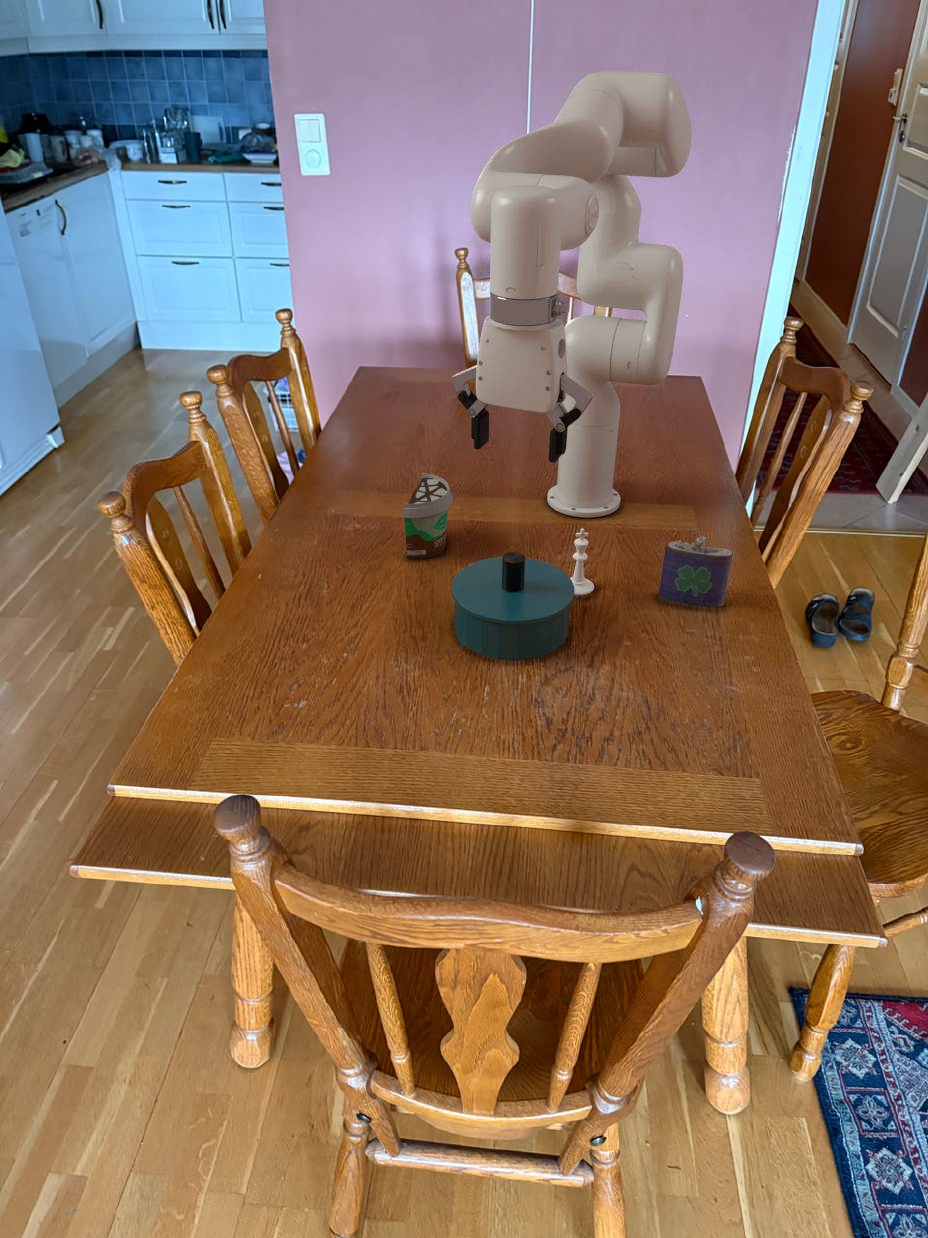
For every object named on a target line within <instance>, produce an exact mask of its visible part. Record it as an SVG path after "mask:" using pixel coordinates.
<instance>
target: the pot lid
mask: <svg viewBox="0 0 928 1238" xmlns="http://www.w3.org/2000/svg"><path fill="white" fill-rule="evenodd" d="M570 578H571V577H570V576H569V575H568V574H567V573H566V572H565V571H563V570H562V569H561V568H559V567H557V566H555V565H553V564H552V563H549V562H546V561H543V560H541V559H537V558H532V557H526V556H525V555H524V554H523V553H521V552H519V551H508V552H505V553H504V554H503V555H502V556H496V557H489V558H485V559H481V560H478V561H474V562H473V563H470V564H468V565H466V566H465V567H464V568H462V569H460V570H459V571H458V572H457V573H456V574H455V576H454V577H453V579H452V581H451V585H450V586H451V596H452V598H453V600H454V603H455V602H456V603H457V604H458V606H459V607H461V608H462V609H463V610H464V611H466V612H467V613H469V614H471V615H473V616H475V617H477V618H480V619H483V620H486V621H490V622H495V623H502V624H530V623H536V622H541V621H544V620H548V619H550V618H553V617H555V616H557V615H559V614H561V613H562V612H564V611H565V610H566V609H567V608H568V607H569V606H570V607H571V605H572V603H573V601H574V598H575V595H574V593H575V591H574V584H573V582H572V580H571V579H570Z"/></svg>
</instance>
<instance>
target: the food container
mask: <svg viewBox="0 0 928 1238" xmlns="http://www.w3.org/2000/svg"><path fill="white" fill-rule="evenodd" d="M420 475H421V476H420V478H421V479H420V481H419V483H418V485H417V486H416V488H414V490H413V491H412V494H411V496H410V498H409V501H408V502H407V503H403V508H402V518H403V519H404V533H405V546H406V547H405V548H406V560H414V561H415V560H424V559H429V558H433V557H436V556H437V555H439V554H441V553H442V552H443V551H444V550H445V549H446V546H447V545H446V543H447V529H448V516H449V508H450V507H451V506H452V504H453V500H454V499H453V498H454V497H453V494H452V489H451V488H450V485H449V483H448V482H447V481H446V480H445V479H444V478H442V477H440V476H438V475H435V474H433V473H426V472H421V474H420Z"/></svg>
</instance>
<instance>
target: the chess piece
mask: <svg viewBox="0 0 928 1238" xmlns="http://www.w3.org/2000/svg"><path fill="white" fill-rule="evenodd" d="M575 537H576V539H575V540H574V542H573V544H574V546H575V551H576V552H574V553H573V555H572V559H574V560H576V561H575V567H574V571H573V575H572V576H571V577H570V579H571V580H572V582H573V584H574V591H575V593H574V596H584V595H589V594H591V593H592V592H593V591H594V589H595V584H594V583H593V582H592V581H591V580H590V579H588V578H586V577H585V569H584V567H585V566H584V561H586V560H588V558H589V557H588V554H587V553H586V550H587V548H588V546H589V540H588V539H586V538H587V537H589V532H588V531H587V532H585V529H584V528H580V531H579V532H575ZM585 537H586V538H585Z"/></svg>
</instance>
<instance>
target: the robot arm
mask: <svg viewBox="0 0 928 1238" xmlns="http://www.w3.org/2000/svg"><path fill="white" fill-rule="evenodd" d="M691 122H692V121H691V118H690V115H689V110H688V106H687V102H686V98H685V94H684V92H683V90H682V87H681V86H680V84H679V83H678V81H677V80H676V79H675V78H674V77H673V76H672V75H670V74H668V73H666V72H659V71H628V70H627V71H623V70H604V71H596V72H592V73H589V74H588V75H585V76H584V77H582V78H581V79H580V80H579V81H578V82H577V83H576V84H575V85H574V87H573V89H572V90H571V92H570V94H569V96H568V97H567V98H566V101H565V102H564V103H563V106H562V107H561V109H560V111H559V113H558V115H557V116H556V118H555V119H554V121H553V122H551V123H548V124H546V125H544V126H541V127H539V128H536V129H534V130H532V131H530V132H528V133H525V134H524V135H521V136H519V137H516V138H515V139H512V140H510V141H508V142H507V143H505V144H504V145H502V146H501V147H500V148H498V149H497V150H496V151H495V152H494V153H493V154H492V155H491V156H490V158H489V160H488V162H487V163H486V165H485V166H484V168H483V169H482V171H481V172H480V175H479V176H478V179H477V181H476V183H475V185H474V188H473V190H472V195H471V200H470V205H469V206H470V208H469V212H470V213H469V216H470V222H471V225H472V228H473V231H474V232H475V234H476V235H477V237H479V238H480V239H481V240H483V241H485V242H486V243H489V244H490V250H489V251H490V253H489V257H490V258H489V260H490V262H489V263H490V264H489V267H490V268H489V311H488V312H489V313H488V315H487V316H486V317H485V318H484V320H483V324H482V328H481V333H480V337H479V338H480V339H479V344H478V350H477V359H476V365H473V366H471V367H469V368H466V369H464V370H461V371H459V372H457V373H455V374H454V375H452V376H451V377H450V383H451V384H452V386H453V388H454V390H455V393H456V394H457V399H458V401H459V402H460V404H462V406H463V408H464V409H466V411H467V416H468V417H469V418H471V420H470V421H471V422H470V423H471V424H470V425H471V426H470V427H471V428H470V434H471V435H470V438H471V440H473V449H474V450H478V451H479V450H481V449H482V448H483V447H484V446H485V445H486V444H487V443H488V442H489V440H490V412H489V410H487V407H488V406H491V407H496V408H502V409H509V410H514V411H520V412H527V413H534V414H543V415H545V416H546V418H547V419H548V421H549V422H550V423H551V425H552V427H553V428H552V429H551V430H550V431H549V442H548V443H549V444H548V445H549V446H548V461H549V462H550V463H552V464H555V463H556V462H557V461H558V464H557V481H556V485H554V486H552V487H551V488H550V489H548V492H547V496H546V501H547V503H548V505H549V506H550V507H551V509H553V510H555V511H556V512H558V513H560V514H563V515H566V516H570V517H575V518H584V519H585V518H587V519H588V518H599V517H604V516H608V515H610V514H613V513H614V512H616V511H617V510H618V509H619V508H620V505H621V495H620V494H619V492H618V491H617V490H616V489H614V478H615V477H614V476H615V468H616V458H617V457H616V456H617V450H618V449H617V447H618V439H619V428H620V418H621V402H620V399H619V396H618V394H617V392H616V390H615V388H614V385H612V383H613V382H614V383H615V382H616V383H624V384H632V385H643V386H654V385H655V386H656V385H659V384H661V383H662V382H663V381H665V380H666V378H667V376H668V374H669V371H670V368H671V364H672V359H673V354H674V347H675V341H676V332H677V328H678V327H677V325H678V319H679V312H680V306H681V298H682V292H683V281H684V263H683V257H682V255H681V253H680V251H678V250H677V249H676V248H674V247H673V246H670V245H666V244H659V243H647V242H640V241H639V232H640V231H639V230H640V224H641V223H640V222H641V217H642V204H641V200H640V198H639V195H638V193H637V191H636V189H635V187H634V185H633V184H632V182H631V180H630V179H629V178H628V176H629V177H642V178H643V177H644V178H646V177H647V178H672V177H674V176H677V175H678V174H679V173H680V172H682V170H683V169H684V167H685V166H686V164H687V162H688V159H689V157H690V152H691V147H692V133H693V132H692V123H691ZM578 247H579V253H578V260H577V261H578V262H577V273H576V291H577V295H578V297H579V299H580V301H582V302H583V303H585V304H588V305H591V306H595V307H602V308H608V309H609V308H611V309H620V310H630V311H631V310H632V311H640V312H643V313H644V314H645V316H646V320H643V319H642V320H641V319H631V318H623V317H615V316H603V315H593V314H592V315H581V316H577V317H574V318H572V319H571V320H569V321H568V322H567V323H566V324H565V323H564V321H563V320H562V319H559V318H558V317H561V316H568V315H569V313H570V303H569V302H566V301H565V302H564V301H563V300H561V298H560V292H559V279H560V263H561V262H560V261H561V258H560V257H561V252H562V251H569V250H574V249H576V248H578ZM557 318H558V319H557ZM473 380H475V393H474V392H473V391H472V389H470V388H469V384H468V382H470V381H473ZM611 382H612V383H611Z"/></svg>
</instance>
